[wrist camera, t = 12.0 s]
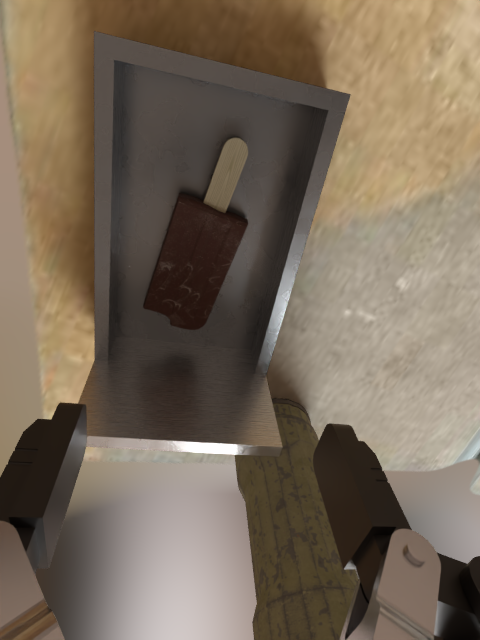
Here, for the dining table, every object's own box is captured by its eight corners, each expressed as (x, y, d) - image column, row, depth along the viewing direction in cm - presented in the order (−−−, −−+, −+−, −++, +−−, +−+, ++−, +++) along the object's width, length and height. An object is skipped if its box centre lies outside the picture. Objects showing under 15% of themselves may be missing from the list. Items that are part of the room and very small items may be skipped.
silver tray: (111, 40, 23) (40, 2, 12) (327, 93, 25) (415, 97, 15) (106, 355, 35) (67, 465, 24) (252, 369, 37) (272, 474, 27)
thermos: (212, 449, 43) (243, 1245, 13) (265, 378, 38) (499, 1394, 8) (276, 467, 46) (417, 1155, 16) (333, 404, 41) (684, 1226, 11)
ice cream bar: (202, 120, 24) (142, 307, 31) (202, 122, 23) (139, 317, 30) (273, 152, 26) (201, 325, 33) (278, 156, 24) (201, 335, 31)
